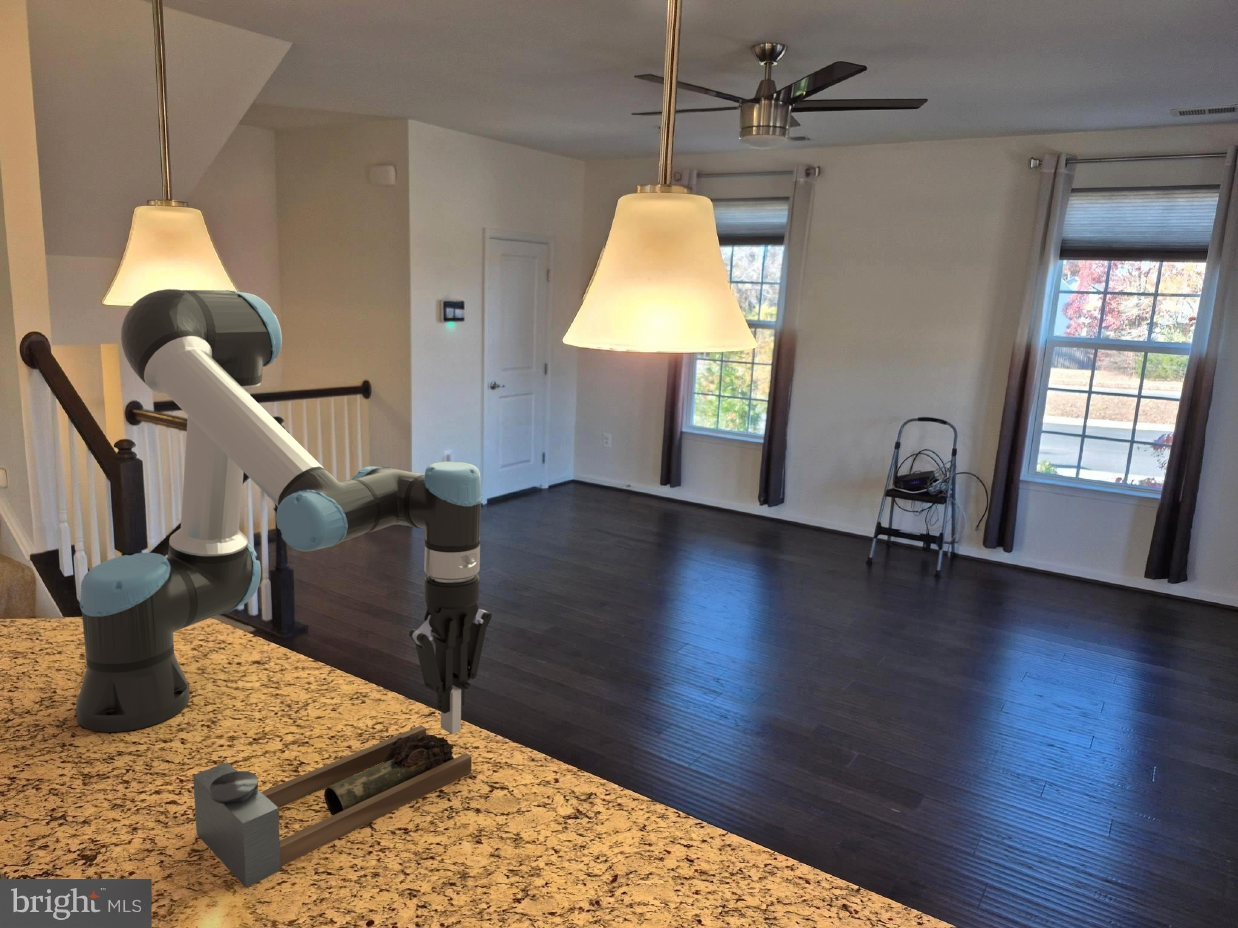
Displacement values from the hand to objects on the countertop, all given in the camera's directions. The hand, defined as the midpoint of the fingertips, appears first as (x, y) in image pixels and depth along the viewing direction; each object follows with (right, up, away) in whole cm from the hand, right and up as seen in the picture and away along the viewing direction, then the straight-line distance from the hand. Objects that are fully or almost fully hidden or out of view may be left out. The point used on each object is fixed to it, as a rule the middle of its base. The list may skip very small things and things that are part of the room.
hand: (450, 729), depth 120 cm
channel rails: (-10, -6, -10) cm, 15 cm away
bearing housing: (-21, -7, -22) cm, 31 cm away
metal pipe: (-6, -6, -8) cm, 12 cm away
